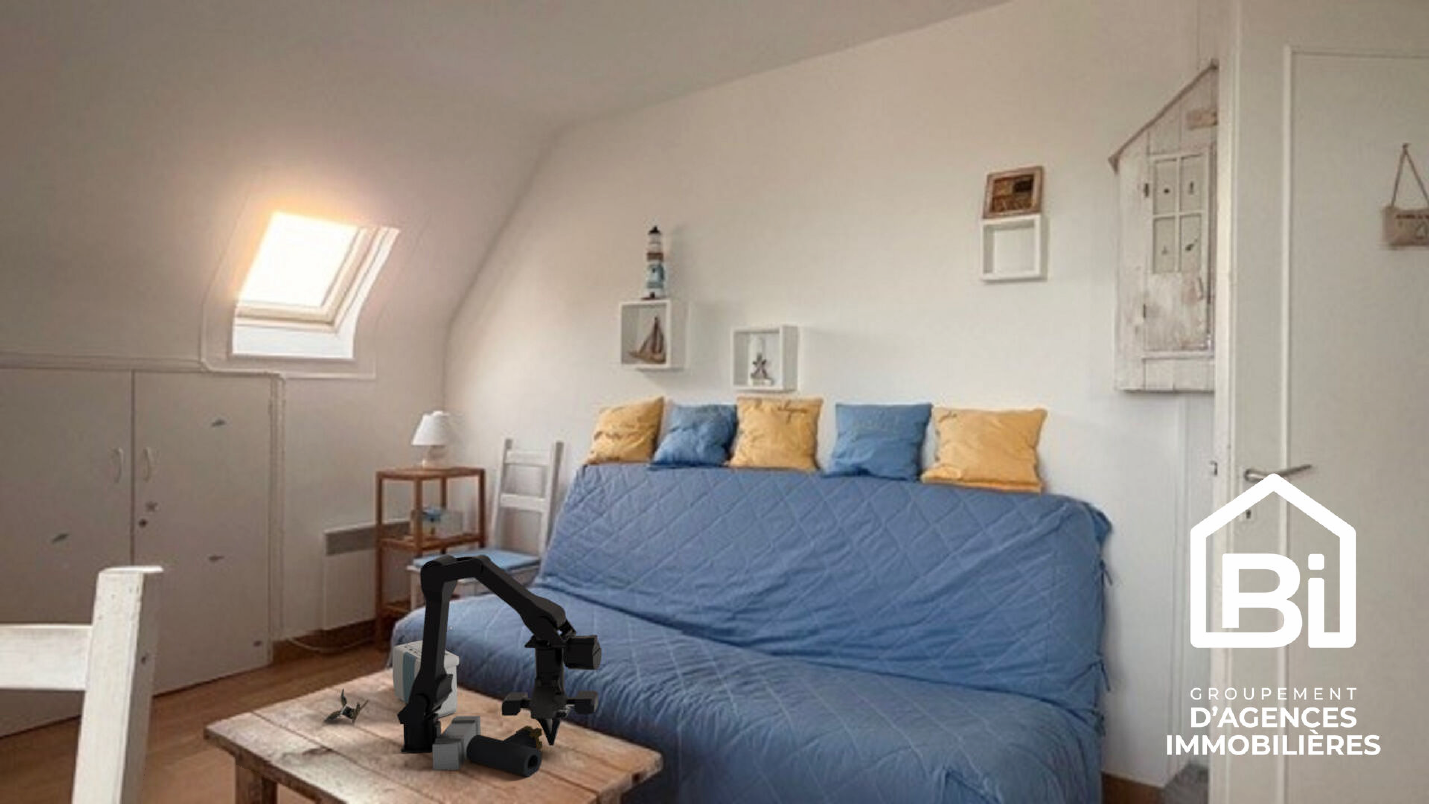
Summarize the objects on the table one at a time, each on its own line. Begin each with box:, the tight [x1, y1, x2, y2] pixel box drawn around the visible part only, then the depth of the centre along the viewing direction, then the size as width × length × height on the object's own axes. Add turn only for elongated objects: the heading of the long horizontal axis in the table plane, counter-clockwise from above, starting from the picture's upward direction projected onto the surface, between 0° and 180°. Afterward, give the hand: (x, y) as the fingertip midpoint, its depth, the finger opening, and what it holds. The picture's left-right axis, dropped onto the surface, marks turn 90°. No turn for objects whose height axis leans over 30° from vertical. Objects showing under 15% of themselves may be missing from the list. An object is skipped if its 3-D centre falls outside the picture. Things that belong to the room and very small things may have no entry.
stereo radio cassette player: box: [392, 626, 460, 719], centre depth 190 cm, size 21×8×20 cm, turn 43°
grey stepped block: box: [432, 715, 482, 771], centre depth 164 cm, size 5×14×5 cm, turn 179°
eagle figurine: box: [323, 688, 370, 725], centre depth 182 cm, size 8×7×9 cm
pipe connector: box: [466, 725, 543, 778], centre depth 160 cm, size 12×5×15 cm
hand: (551, 744), depth 163 cm, fingers closed
